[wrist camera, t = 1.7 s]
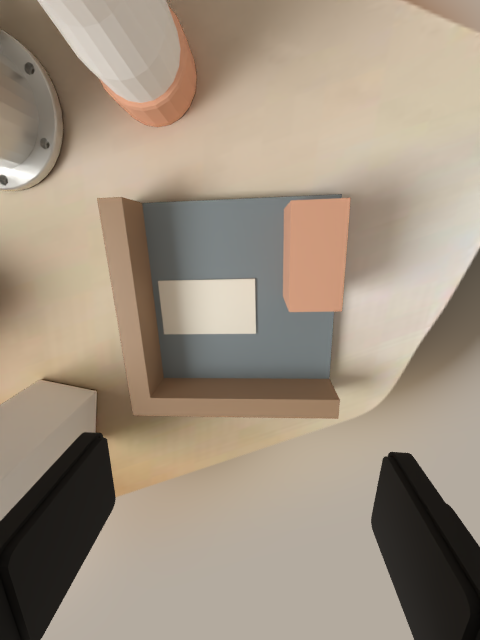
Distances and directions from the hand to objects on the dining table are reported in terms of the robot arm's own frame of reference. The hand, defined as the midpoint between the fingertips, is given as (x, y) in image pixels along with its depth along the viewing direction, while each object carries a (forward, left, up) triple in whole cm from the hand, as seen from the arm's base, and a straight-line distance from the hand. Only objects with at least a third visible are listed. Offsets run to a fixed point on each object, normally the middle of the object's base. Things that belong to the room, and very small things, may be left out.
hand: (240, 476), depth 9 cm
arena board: (-1, -2, -21) cm, 21 cm away
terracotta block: (-6, +5, -19) cm, 21 cm away
